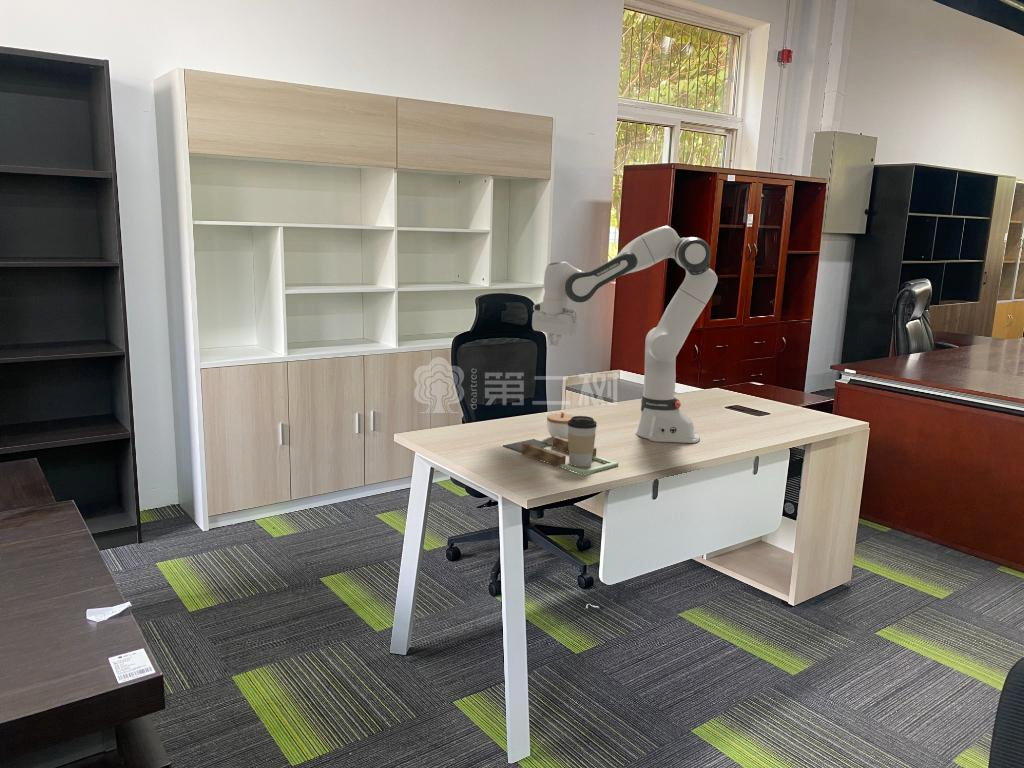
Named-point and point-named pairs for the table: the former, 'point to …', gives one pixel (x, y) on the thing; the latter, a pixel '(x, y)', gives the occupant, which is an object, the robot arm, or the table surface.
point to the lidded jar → (558, 424)
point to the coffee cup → (581, 440)
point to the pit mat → (518, 445)
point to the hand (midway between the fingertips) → (553, 345)
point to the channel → (547, 454)
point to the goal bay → (594, 469)
